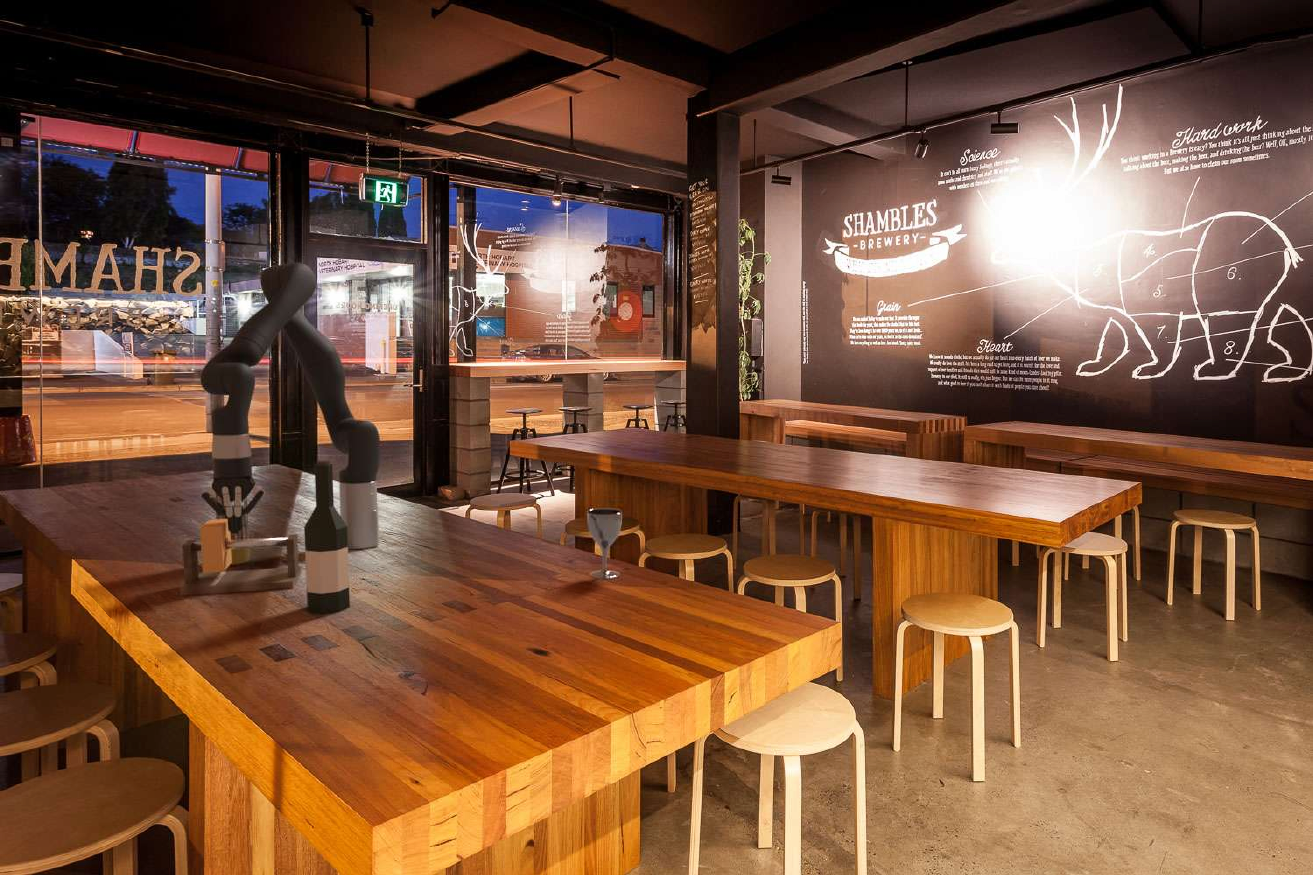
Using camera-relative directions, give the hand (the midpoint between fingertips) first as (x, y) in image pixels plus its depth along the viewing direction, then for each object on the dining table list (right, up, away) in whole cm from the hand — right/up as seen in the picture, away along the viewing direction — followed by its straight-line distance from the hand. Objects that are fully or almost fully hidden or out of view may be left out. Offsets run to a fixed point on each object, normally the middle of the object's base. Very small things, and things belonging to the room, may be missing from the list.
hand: (236, 532), depth 180 cm
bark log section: (-10, -10, +19) cm, 24 cm away
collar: (-4, -8, 0) cm, 9 cm away
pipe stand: (+1, -12, +2) cm, 12 cm away
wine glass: (+80, -11, +11) cm, 82 cm away
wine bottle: (+26, -14, -14) cm, 33 cm away
